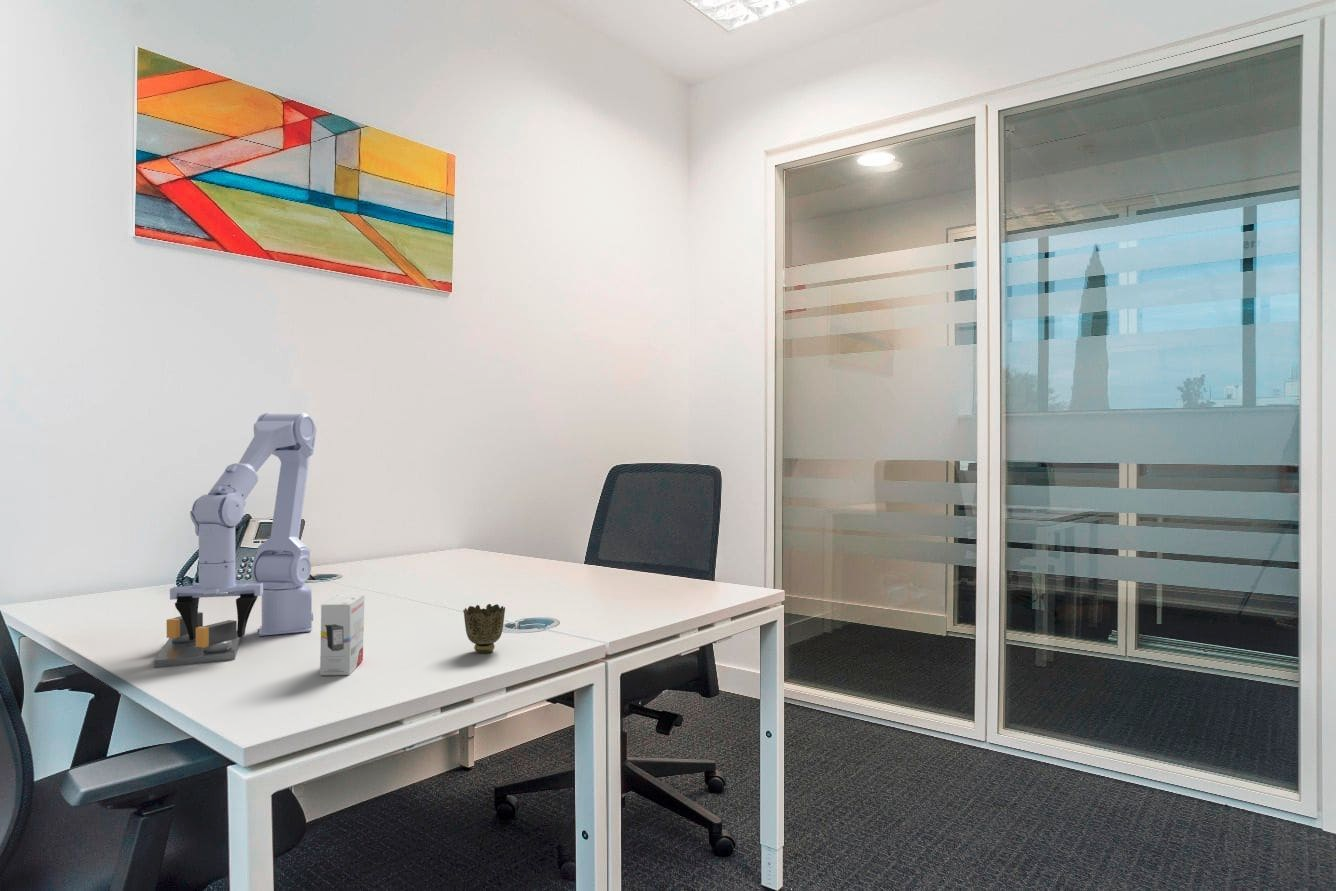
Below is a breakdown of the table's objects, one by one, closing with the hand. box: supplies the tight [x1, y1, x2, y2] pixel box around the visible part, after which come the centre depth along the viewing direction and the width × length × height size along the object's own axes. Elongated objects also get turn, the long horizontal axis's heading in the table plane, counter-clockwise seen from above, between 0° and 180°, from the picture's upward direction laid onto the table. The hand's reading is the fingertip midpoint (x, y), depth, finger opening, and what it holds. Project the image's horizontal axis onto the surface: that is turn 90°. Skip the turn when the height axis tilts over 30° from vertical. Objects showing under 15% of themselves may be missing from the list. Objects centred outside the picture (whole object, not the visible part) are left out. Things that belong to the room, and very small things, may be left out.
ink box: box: [319, 594, 366, 676], centre depth 133 cm, size 9×5×12 cm, turn 6°
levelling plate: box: [153, 637, 242, 668], centre depth 145 cm, size 12×18×3 cm, turn 25°
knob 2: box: [196, 619, 238, 652], centre depth 141 cm, size 7×4×4 cm, turn 159°
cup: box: [462, 603, 506, 654], centre depth 144 cm, size 7×7×8 cm
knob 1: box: [166, 611, 204, 642], centre depth 148 cm, size 7×4×4 cm, turn 171°
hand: (217, 637), depth 141 cm, fingers open, 7 cm apart
